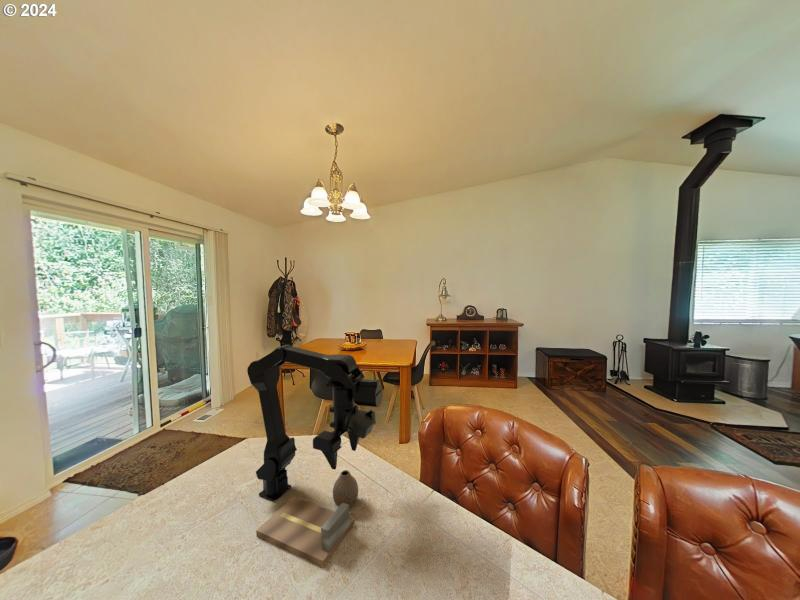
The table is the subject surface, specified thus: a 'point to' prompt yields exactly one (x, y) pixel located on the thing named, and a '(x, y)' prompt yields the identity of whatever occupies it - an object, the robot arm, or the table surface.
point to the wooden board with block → (307, 529)
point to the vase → (345, 489)
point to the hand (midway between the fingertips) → (344, 459)
